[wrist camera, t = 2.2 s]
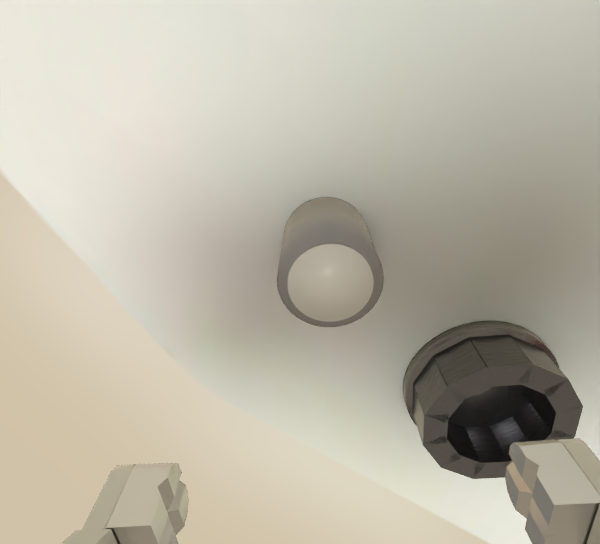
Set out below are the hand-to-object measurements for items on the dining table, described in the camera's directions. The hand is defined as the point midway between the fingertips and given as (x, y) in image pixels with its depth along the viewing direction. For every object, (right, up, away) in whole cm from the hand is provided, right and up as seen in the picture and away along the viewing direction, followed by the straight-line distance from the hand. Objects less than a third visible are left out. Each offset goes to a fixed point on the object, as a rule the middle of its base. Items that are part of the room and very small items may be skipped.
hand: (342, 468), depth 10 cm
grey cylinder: (0, +7, +14) cm, 16 cm away
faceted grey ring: (+12, -3, +19) cm, 22 cm away
